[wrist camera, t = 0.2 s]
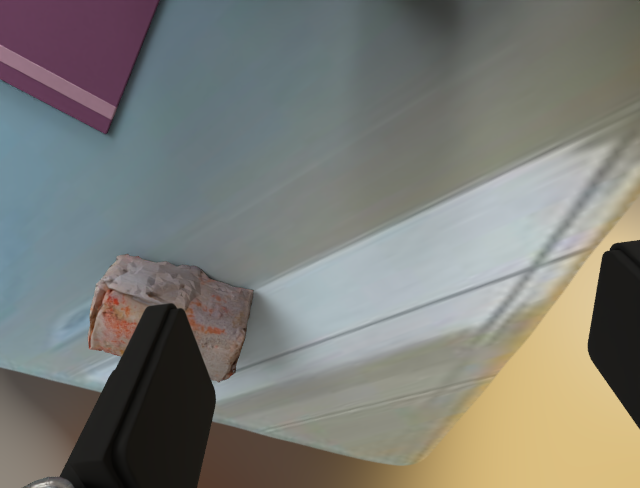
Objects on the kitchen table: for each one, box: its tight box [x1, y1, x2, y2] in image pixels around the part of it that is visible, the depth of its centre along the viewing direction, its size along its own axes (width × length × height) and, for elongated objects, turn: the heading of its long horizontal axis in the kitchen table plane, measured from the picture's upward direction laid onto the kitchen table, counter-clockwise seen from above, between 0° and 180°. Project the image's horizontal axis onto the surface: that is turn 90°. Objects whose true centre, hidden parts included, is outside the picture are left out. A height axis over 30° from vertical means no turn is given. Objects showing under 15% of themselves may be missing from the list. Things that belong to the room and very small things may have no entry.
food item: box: [88, 254, 253, 382], centre depth 44 cm, size 14×8×10 cm, turn 71°
